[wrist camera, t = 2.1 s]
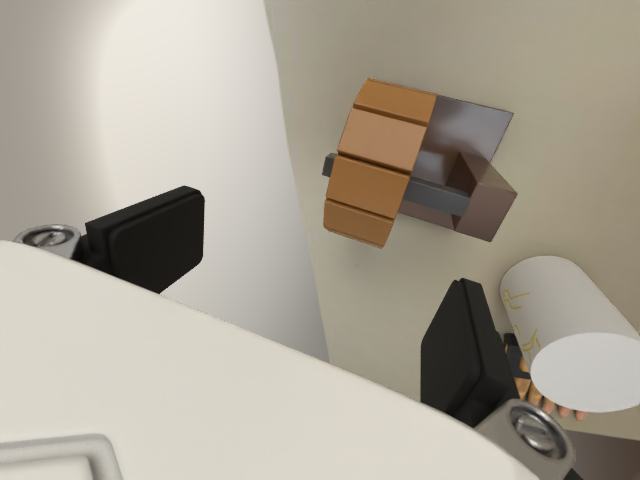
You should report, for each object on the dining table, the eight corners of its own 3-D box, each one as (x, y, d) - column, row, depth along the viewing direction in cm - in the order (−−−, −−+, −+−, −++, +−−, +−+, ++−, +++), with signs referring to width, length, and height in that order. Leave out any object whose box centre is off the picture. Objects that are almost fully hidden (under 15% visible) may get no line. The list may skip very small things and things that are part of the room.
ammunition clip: (505, 334, 37) (490, 398, 43) (508, 345, 36) (492, 410, 41) (614, 347, 34) (583, 415, 39) (624, 360, 32) (590, 429, 38)
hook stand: (374, 79, 30) (343, 72, 19) (510, 112, 28) (567, 125, 17) (344, 192, 36) (308, 237, 25) (456, 226, 34) (471, 293, 23)
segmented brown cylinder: (381, 81, 27) (353, 74, 17) (434, 94, 26) (440, 95, 16) (347, 203, 33) (312, 254, 23) (390, 217, 32) (374, 276, 22)
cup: (490, 268, 35) (518, 342, 24) (577, 245, 31) (653, 322, 21) (511, 324, 37) (545, 415, 26) (595, 309, 33) (673, 408, 23)
